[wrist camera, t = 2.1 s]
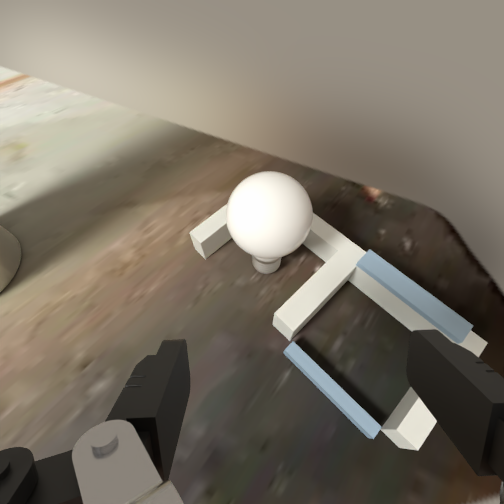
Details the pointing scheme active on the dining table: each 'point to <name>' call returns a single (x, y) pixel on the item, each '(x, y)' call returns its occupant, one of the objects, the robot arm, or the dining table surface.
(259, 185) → the lightbulb
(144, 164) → the dining table surface
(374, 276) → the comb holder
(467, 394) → the robot arm
